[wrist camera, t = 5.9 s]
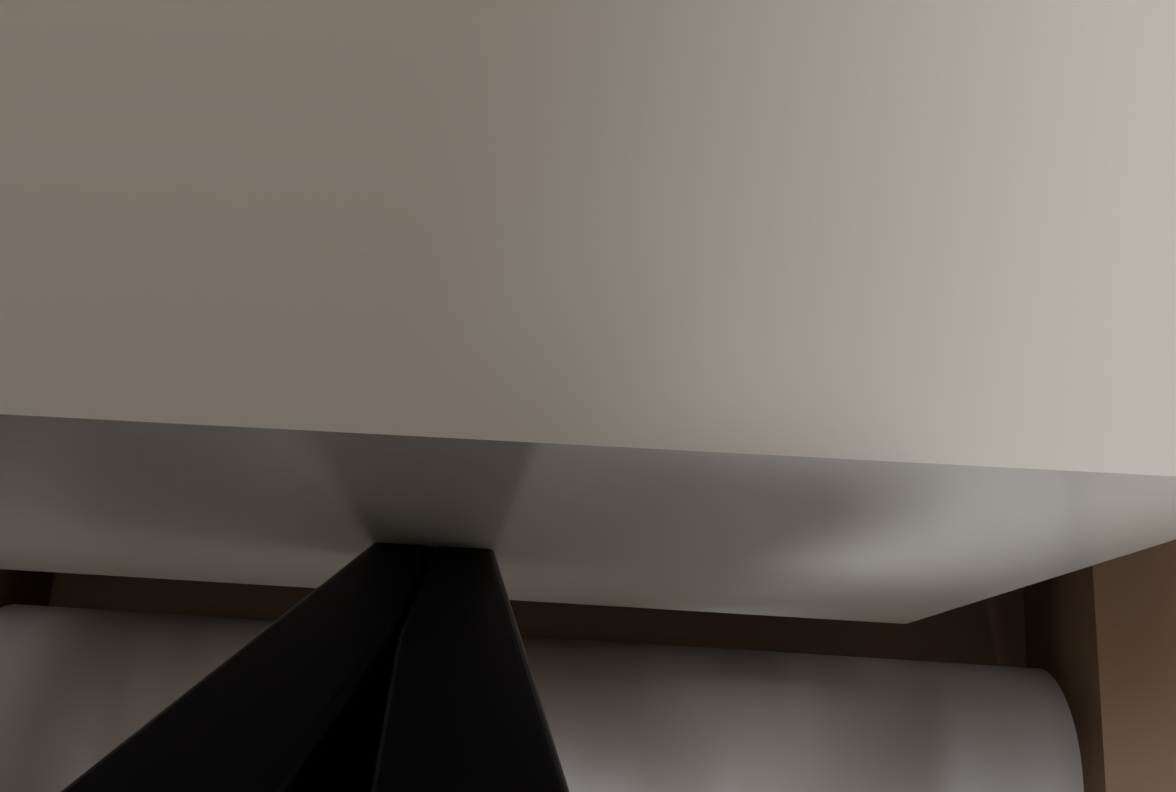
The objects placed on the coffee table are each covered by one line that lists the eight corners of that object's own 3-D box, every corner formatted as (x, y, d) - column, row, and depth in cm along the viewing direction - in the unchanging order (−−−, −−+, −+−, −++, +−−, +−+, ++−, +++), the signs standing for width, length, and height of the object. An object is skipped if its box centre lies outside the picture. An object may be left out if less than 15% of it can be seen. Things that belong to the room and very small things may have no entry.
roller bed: (1148, 1496, 12) (1544, 2101, 7) (-164, 1362, 13) (-712, 1813, 8) (1051, -106, 18) (1229, -449, 13) (144, -129, 19) (-49, -461, 13)
